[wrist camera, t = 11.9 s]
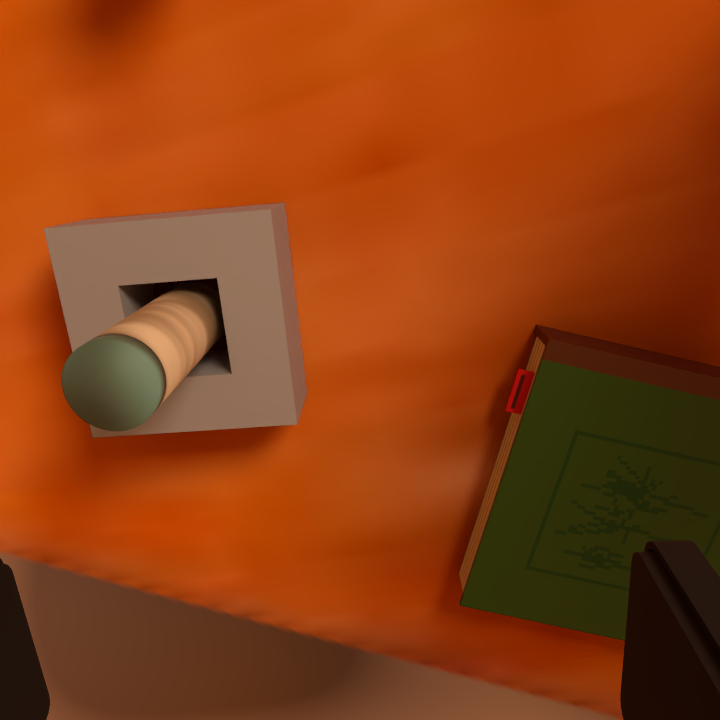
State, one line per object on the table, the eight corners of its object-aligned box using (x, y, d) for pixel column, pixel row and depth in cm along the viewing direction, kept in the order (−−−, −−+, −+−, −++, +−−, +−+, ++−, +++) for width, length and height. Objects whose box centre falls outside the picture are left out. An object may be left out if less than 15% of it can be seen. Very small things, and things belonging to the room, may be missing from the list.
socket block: (284, 202, 37) (270, 209, 32) (307, 393, 41) (297, 424, 36) (86, 219, 38) (43, 228, 33) (125, 405, 41) (92, 437, 37)
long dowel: (229, 274, 38) (148, 336, 25) (238, 337, 40) (166, 428, 26) (164, 279, 39) (51, 343, 25) (176, 341, 40) (73, 434, 27)
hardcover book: (899, 407, 40) (949, 431, 37) (775, 639, 46) (808, 679, 42) (522, 319, 39) (536, 336, 36) (443, 567, 45) (448, 603, 41)
